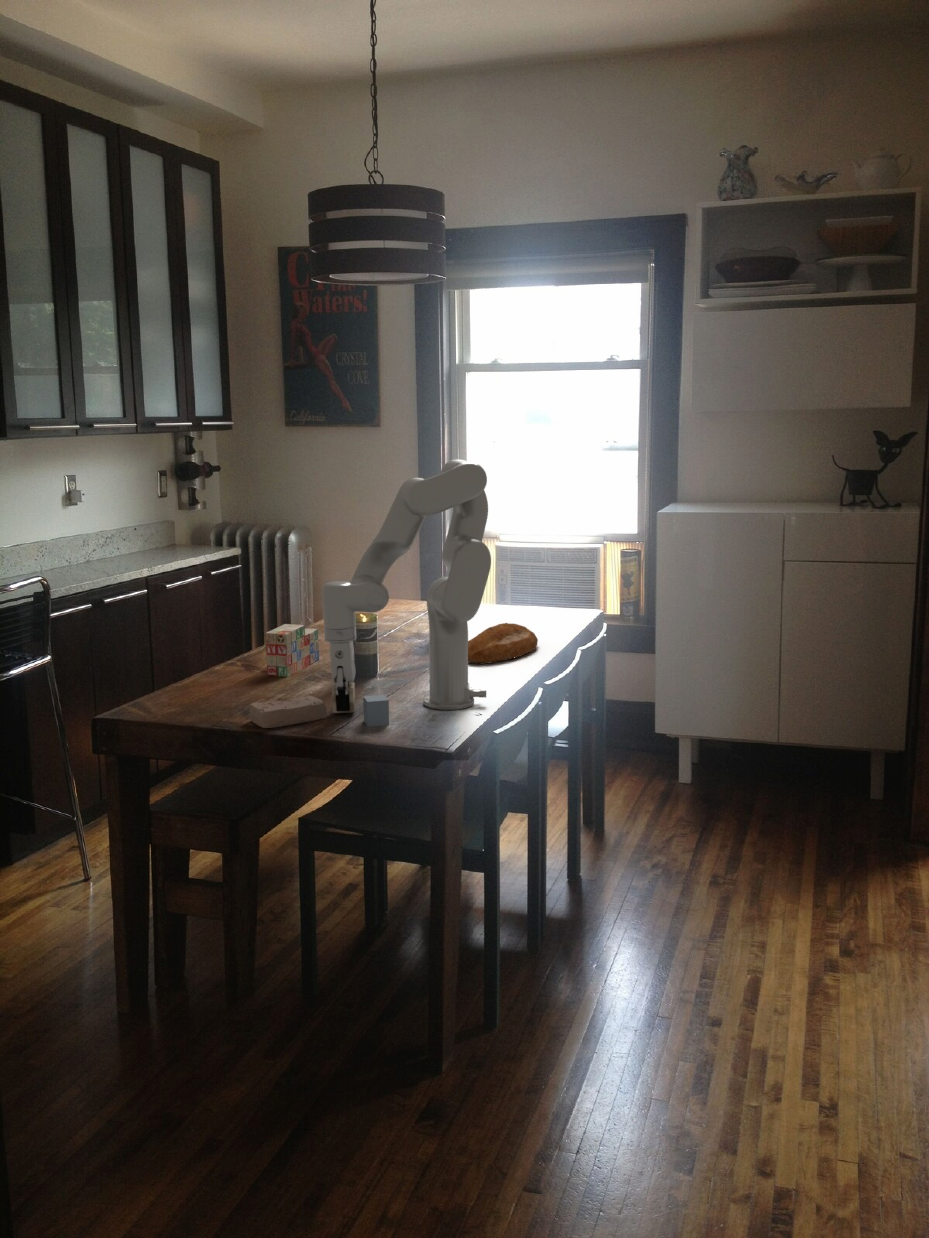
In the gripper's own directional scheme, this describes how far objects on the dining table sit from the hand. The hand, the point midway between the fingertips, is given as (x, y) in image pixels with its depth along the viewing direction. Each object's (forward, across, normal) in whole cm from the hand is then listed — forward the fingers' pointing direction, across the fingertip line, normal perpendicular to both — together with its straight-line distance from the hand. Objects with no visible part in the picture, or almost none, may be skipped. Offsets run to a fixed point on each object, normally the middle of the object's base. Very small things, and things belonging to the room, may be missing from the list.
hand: (344, 706), depth 264 cm
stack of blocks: (+2, +46, +18) cm, 50 cm away
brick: (+2, -5, +13) cm, 14 cm away
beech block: (+1, 0, 0) cm, 1 cm away
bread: (+4, +63, -41) cm, 75 cm away
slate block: (+2, -8, -8) cm, 12 cm away
